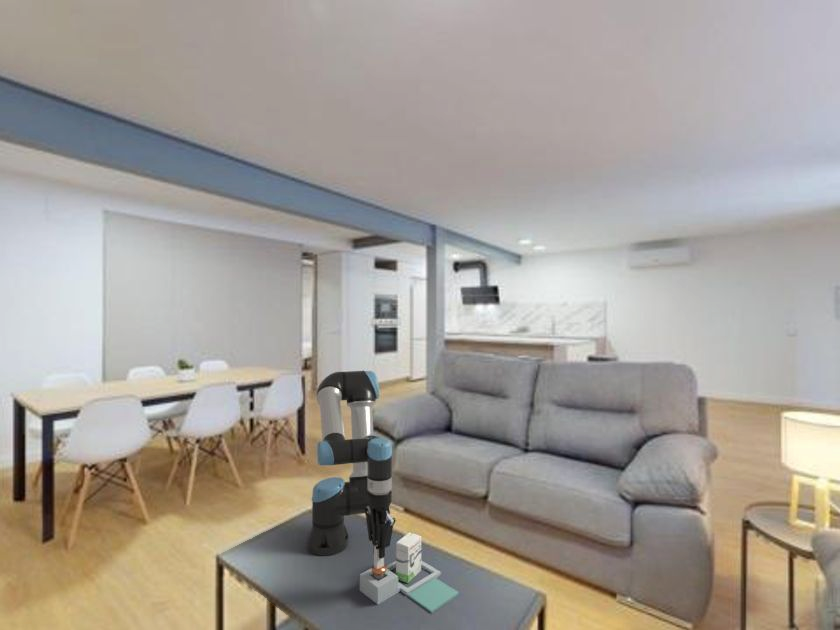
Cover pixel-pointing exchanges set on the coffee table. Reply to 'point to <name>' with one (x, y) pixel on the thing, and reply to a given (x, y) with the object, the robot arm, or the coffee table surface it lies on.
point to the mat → (433, 595)
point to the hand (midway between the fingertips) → (379, 566)
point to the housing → (391, 583)
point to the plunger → (379, 572)
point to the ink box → (408, 557)
